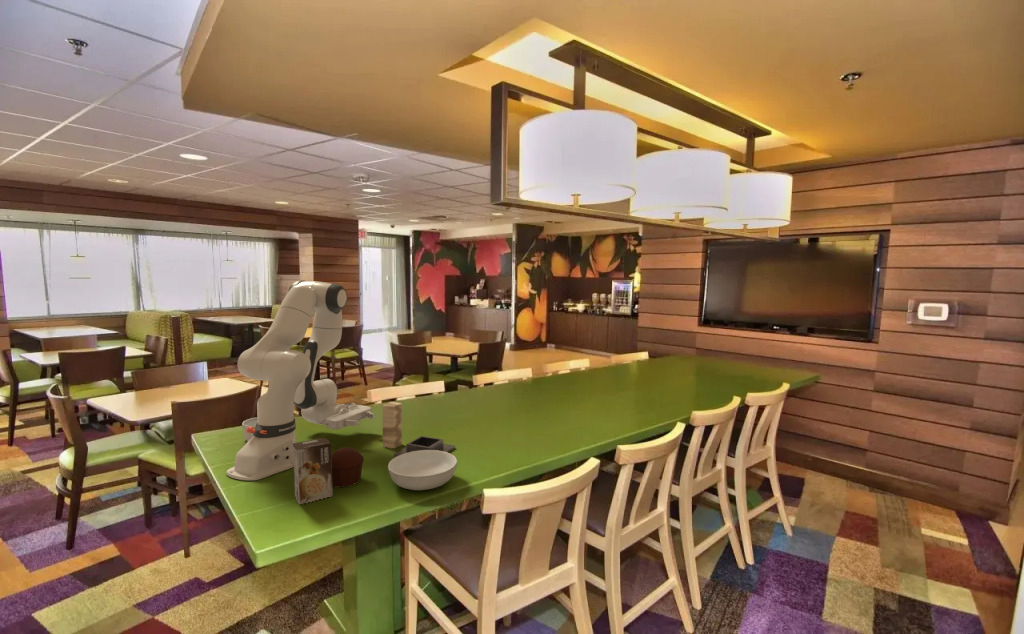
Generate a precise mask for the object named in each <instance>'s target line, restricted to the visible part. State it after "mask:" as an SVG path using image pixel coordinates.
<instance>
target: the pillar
mask: <svg viewBox="0 0 1024 634" xmlns="http://www.w3.org/2000/svg"><path fill="white" fill-rule="evenodd" d="M402 405H403V404H402V402H395V401H394V402H393V401H390V402H389V401H388V402H387V403H384V404H382V405H381V406H382V407H381V408H382V411H381V412H382V447H383V448H386V447H387V449H392V448H393V449H394V448H395V449H397V448H398V447H400V446H402V444H403V419H402V418H403V417H402V415H403V413H402V412H403V410H402V409H403V406H402ZM396 447H397V448H396Z"/></svg>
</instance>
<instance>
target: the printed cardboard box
mask: <svg viewBox="0 0 1024 634" xmlns="http://www.w3.org/2000/svg"><path fill="white" fill-rule="evenodd" d="M331 454H332V445H331V442H330V441H329V440H328V439H327V438H326V437H320V438H313V439H309V440H305V441H298V442H296V443H293V457H294V467H293V473H294V474H293V476H294V498H295V497H296V498H295V500H296V501H297V503H298V505H299V504H302V505H304V504H303V503H306V504H309V503H308V502H310V503H312V501H313V502H316V501H315V500H317V501H320V500H319V499H321V500H323V498H325V499H328V498H327V497H329V498H332V497H333V496H334V495H333V492H334V489H333V487H334V486H333V485H332V463H331Z"/></svg>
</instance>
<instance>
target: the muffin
mask: <svg viewBox="0 0 1024 634" xmlns="http://www.w3.org/2000/svg"><path fill="white" fill-rule="evenodd" d="M364 461H365V457H364V455H363V454H362V453H361V452H360V451H359V450H357V449H355V448H354V447H348V446H347V447H340V448H337V449H336V450H334V452H331V463H332V487H335V486H339V487H338V488H344V487H343V486H347V487H351V486H350V485H352V486H353V484H354V483H356V484H358V483H359V482H360V481H361V479H362V472H363V466H364ZM357 482H358V483H357ZM354 485H355V484H354Z"/></svg>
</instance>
